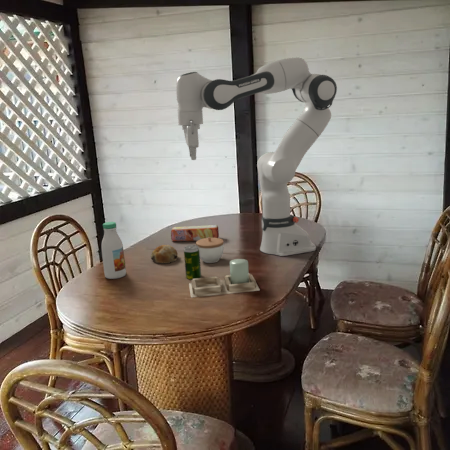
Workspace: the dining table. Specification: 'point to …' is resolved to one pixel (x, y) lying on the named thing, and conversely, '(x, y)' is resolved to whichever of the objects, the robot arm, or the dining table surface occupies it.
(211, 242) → the lidded jar
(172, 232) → the snack package
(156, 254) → the bread roll
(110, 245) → the milk bottle
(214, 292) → the caddy
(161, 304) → the dining table surface
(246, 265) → the mint green domed part
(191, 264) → the beer can
